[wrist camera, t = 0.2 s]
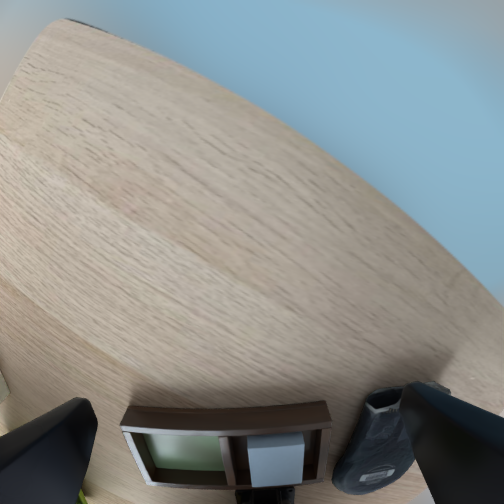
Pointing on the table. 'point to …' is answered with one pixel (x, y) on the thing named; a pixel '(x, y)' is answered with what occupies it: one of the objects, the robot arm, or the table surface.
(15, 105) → the table surface
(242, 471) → the shallow rectangular tray
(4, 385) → the cream rectangular block
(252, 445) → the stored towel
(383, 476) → the electronic device
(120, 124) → the table surface
